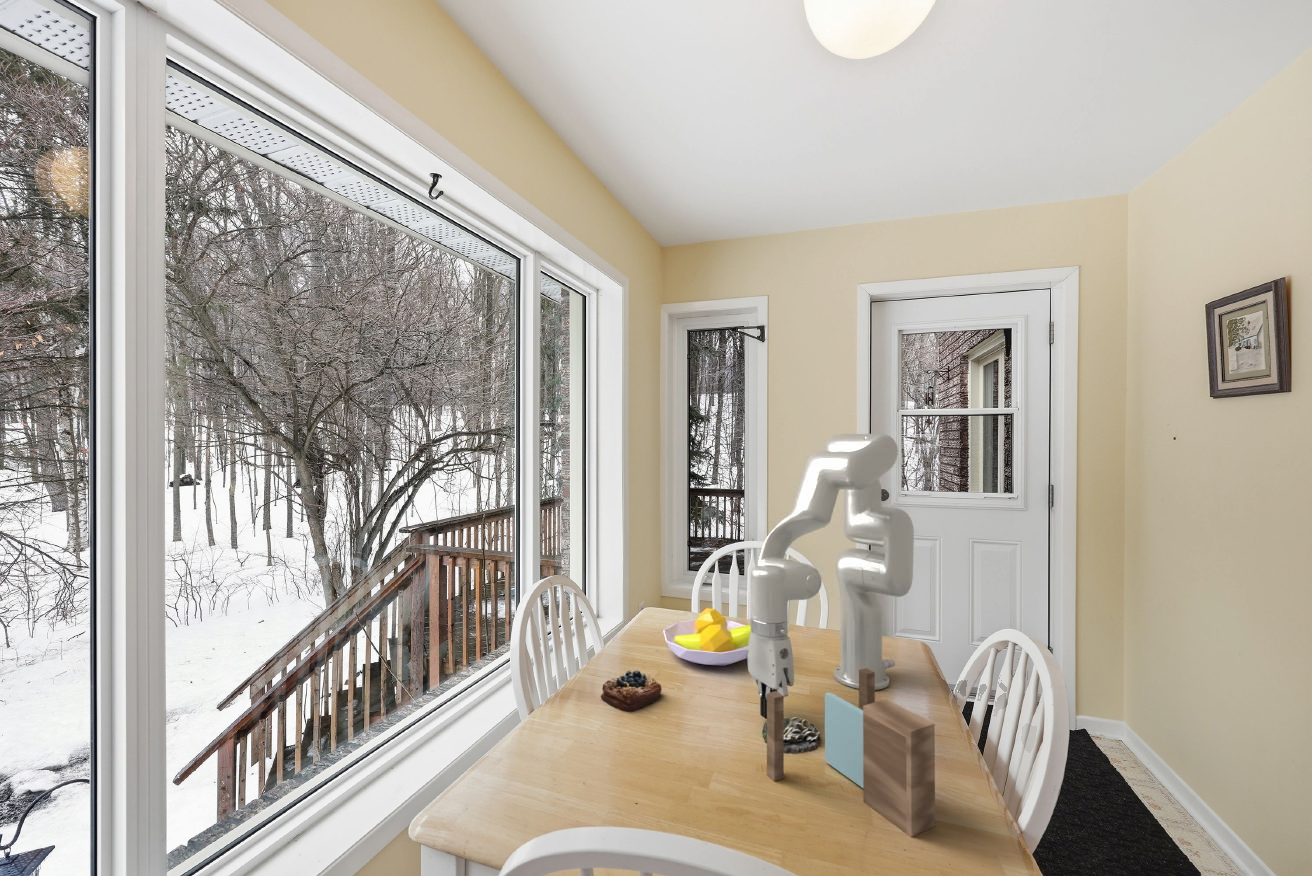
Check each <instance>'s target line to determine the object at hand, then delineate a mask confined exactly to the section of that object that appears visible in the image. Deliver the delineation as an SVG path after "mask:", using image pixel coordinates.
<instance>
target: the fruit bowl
mask: <svg viewBox="0 0 1312 876" xmlns="http://www.w3.org/2000/svg"><path fill="white" fill-rule="evenodd" d="M750 630H751V624H748V625H747V624H743V623H740V622H737V621H733V620H727V619H726V617H724V615H722V614H721V613H720V612H719V611H718V610H717V609H716V608H710V607H706V608H705V609H704V610H702V611H701V612H700V613H699V614H698V616H697V618H696V619H691V620H684V621H683V620H682V621H677V622H676V623H674V624H672V625H670V626H668V627H666V628H665V629H663V630H662V631H663V635H664V639H665V642H666V645H667V646H668V649H669V650H670V651H671V652H672V653H673V654H675V656H676V657H678V658H681V659H683V660H685V661H689V662H690V663H693V664H701V665H710V666H723V667H724V666H727V665H728V666H729V665H731V664H734V663H737V662H739V661H743V660H745V659H748V644H749V636H750Z"/></svg>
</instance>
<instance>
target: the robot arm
mask: <svg viewBox="0 0 1312 876" xmlns="http://www.w3.org/2000/svg"><path fill="white" fill-rule="evenodd" d="M824 444H825V445H824V451H818V452H815V453H813V454H812V455H810V457H809V458H808V459H807V461H806V462H805V463H806V464H805V467H804V469H803V473H802V476H801V480H800V483H799V487H798V490H797V493H796V496H795V498H794V499H795V500H794V504H793V506H792V508H791V509H792V510H791V511H790V513H788V515H786V516H785V517H783V519H782V520H780V521H779V522H778V523H777V524H776V526H775V527H774V528H772V530H771V531H770V532H769V533H768V535H767V536H766V537H765V540H764V542H763V544H762V547H761V550H760V554H759V557H758V561H757V564H756V566H754V567H753V568H752V569H751V571H750V625H751V630H750V636H749V644H748V658H747V669H748V670H747V671H748V673H749V674H750V676H751V678H752V679H753V681H754V682H755V683H756V685H757V689H758V691H757V692H758V695H759V697H760V701H759V703H760V709H759V710H760V716H761V717H762V718H764V719H765V720H767V693H770V692H774V691H777V692H778V693H780V694H782V695H783V696H784V698H785V697H788V696H789V689H788V687H794V685H795V684H794V683H795V669H794V667H795V666H794V655H793V654H794V653H793V648H792V642H791V639H790V637H789V636H788V633H789V630H788V627H789V626H788V623H789V622H788V621H789V619H788V617H789V615H788V614H789V613H788V609H789V608H788V606H789V604H788V602H790V601H798V600H799V601H804V600H809V599H812V598H814V597H815V596H816V595H817V594H818V593H819V592H820V590H821V588H822V576H821V573H820V572H819V570H817V568H815V567H814V566H813V565H810V564H808V563H804V562H800V561H795V560H791V559H787V558H784V557H785V556H786V554H787V553H786V552H787V551H788V549H789V547H790V546H791V545H792V544H793V543H794V542H795V541H797V539H799V538H800V537H802V536H805V535H807V534H810V533H812V532H815V531H819V530H820V529H823V528H825V527H827V526H828V525H830V522H831V520H832V516H833V513H834V509H835V505H836V502H837V498H838V495H839V492H840V490H844V492H843V493H844V495H843V496H844V499H843V502H844V505H843V531H844V532H843V533H844V534H845V537H846V538H847V539H848V540H849V541H851V542H853V543H856V544H862V545H867V546H868V545H869V546H873V547H881V548H883V550H884V552H883V551H882V552H881V551H876V550H870V549H864V548H856V547H855V548H854V547H853V548H852V547H851V548H847V549H845V550H843V551H841V552H840V553H839V554H838V556H837V558H836V562H835V571H836V577H837V582H838V583H837V584H838V588H839V589H838V590H839V598H840V599H839V600H840V602H839V603H840V665H838V666H837V667H835V669H834V670H833V676H834V678H835V680H837V682H839V683H841V684H842V685H845V686H847V687H850V688H852V689H856V690H857V689H858V690H859V670H861V669H865V668H867V669H869V670H871V671H873V672H875V691H877V690H878V691H879V690H883V689H886V688H887V687H888V686H889V685H890V677H889V675H888V674H887V673H886V672H885V671H886V670H887V669H889V668H893V667H895V665H896V662H895V661H894V658H886V659H883V608H882V605H881V601H880V599H879V596H878V595H877V594H879V595H885V596H889V597H894V598H901V597H904V596H906V595H907V594H908V593H909V591H910V589H911V587H912V584H913V577H914V549H915V548H914V547H915V546H914V544H915V541H914V539H915V538H914V537H915V536H914V532H915V531H914V530H915V529H914V525H913V521H912V519H911V517H910V515H909V514H908V513H907V512H906V511H905V510H903V509H901V508H897V507H889V506H883V505H882V504H883V503H882V484H881V482H880V480H879V479H880V478H881V477H882V476H884V475H885V474H886V473H887V472H889V471H891V469H892V468H893V467H894V465H895V464H896V462H897V461H898V453H899V448H898V444H897V442H896V440H895V439H894V438H893V437H891V436H890V435H888V434H886V433H885V434H884V433H846V434H845V433H844V434H835V435H833V436H831V437H829V438H828V439H827V440H826V442H825V443H824Z"/></svg>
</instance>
